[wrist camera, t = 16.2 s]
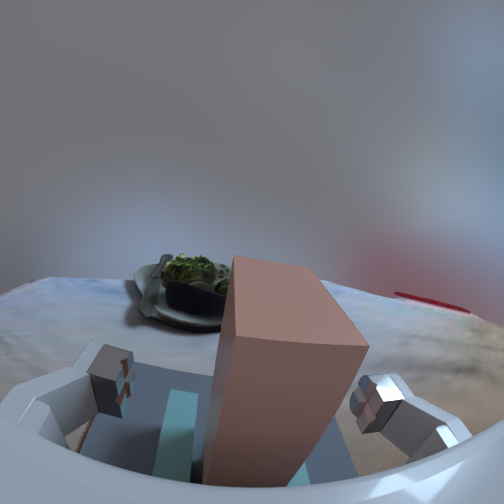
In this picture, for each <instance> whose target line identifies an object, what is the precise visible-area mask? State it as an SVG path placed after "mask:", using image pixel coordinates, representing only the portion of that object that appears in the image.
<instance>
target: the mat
mask: <svg viewBox="0 0 504 504" xmlns="http://www.w3.org/2000/svg"><path fill="white" fill-rule="evenodd" d="M132 368H133V369H134V371H135V383H134V388H133V392H132V395H131V396H130V397H128V398H127V404H128V405H127V408H126V411H125V413H124V416H123V419H122V418H118V417H114V416H110V415H107V414H103V413H100V412H99V414H98V415H96V416H95V418H94V420H93V422H92V424H91V427H90V429H89V431H88V433H87V436H86V438H85V440H84V443H83V445H82V448H81V450H80V452H79V454H81V455H83V456H86V457H89V458H91V459H94V460H97V461H100V462H103V463H106V464H109V465H112V466H115V467H119V468H122V469H125V470H129V471H133V472H137V473H141V474H145V475H149V476H152V474H153V469H154V464H155V459H156V453H157V449H158V444H159V439H160V434H161V429H162V425H163V420H164V416H165V411H166V407H167V402H168V398H169V394H170V390H171V389H173V390H179V391H185V392H190V393H197V394H198V403H197V412H196V422H195V432H194V442H193V452H192V463H191V475H190V483H194V484H200V466H201V455H202V448H203V441H204V434H205V427H206V420H207V414H208V407H209V401H210V394H211V388H212V381H213V376H207V375H200V374H194V373H188V372H182V371H176V370H171V369H166V368H161V367H156V366H151V365H147V364H142V363H138V362H133V365H132ZM305 465H306V469H307V473H308V477H309V481H310V485H312V484H321V483H328V482H334V481H340V480H346V479H351V478H356V477H358V475H357V473H356V470H355V468H354V465H353V462H352V460H351V457H350V455H349V452H348V450H347V447H346V445H345V442H344V439H343V437H342V434H341V432H340V429H339V427H338V424H337V422H336V419H335V417H333V418H332V420H331V422H330V423H329V425H328V427H327V428H326V430H325V431H324V433H323V435H322V436H321V438H320V439H319V441H318V443H317V444H316V446H315V447H314V449H313V450H312V452H311V453H310V455H309V456H308V457H307V459H306V460H305Z"/></svg>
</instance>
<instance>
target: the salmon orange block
mask: <svg viewBox="0 0 504 504" xmlns="http://www.w3.org/2000/svg"><path fill="white" fill-rule="evenodd" d="M369 346H370V345H369V344H368V343H367V341H366V340H365V339H364V337H363V336H362V335H361V333H360V332H359V331H358V329H357V328H356V327H355V325H354V324H353V323H352V321H351V320H350V319H349V317H348V316H347V315H346V314H345V312H344V311H343V310H342V308H341V307H340V306H339V304H338V303H337V302H336V300H335V299H334V298H333V297H332V295H331V294H330V293H329V291H328V290H327V289H326V288H325V286H324V285H323V284H322V283H321V281H320V280H319V279H318V278H317V276H316V275H315V274H314V272H313V271H312V270H311V269H310V268H309V267H303V266H296V265H290V264H284V263H278V262H272V261H266V260H260V259H253V258H247V257H241V256H235V255H234V257H233V263H232V268H231V274H230V279H229V285H228V291H227V297H226V302H225V308H224V314H223V320H222V326H221V332H220V338H219V344H218V350H217V356H216V362H215V369H214V375H213V381H212V388H211V394H210V401H209V407H208V414H207V420H206V427H205V434H204V441H203V448H202V455H201V466H200V484H202V485H212V486H224V487H247V488H267V487H286V486H287V485H288V483H289V482H290V481H291V480H292V478H293V477H294V476H295V474H296V473H297V471H298V470H299V469H300V467H301V466H302V465H303V463H304V462H305V460H306V459H307V457H308V456H309V455H310V453H311V452H312V450H313V449H314V447H315V446H316V444H317V443H318V441H319V439H320V438H321V436H322V435H323V433H324V431H325V430H326V428H327V427H328V425H329V423H330V422H331V420H332V418H333V417H334V415H335V413H336V411H337V410H338V408H339V406H340V404H341V403H342V401H343V399H344V397H345V395H346V393H347V391H348V390H349V388H350V386H351V384H352V382H353V380H354V378H355V376H356V374H357V372H358V370H359V368H360V366H361V364H362V361H363V359H364V357H365V355H366V353H367V351H368V348H369Z"/></svg>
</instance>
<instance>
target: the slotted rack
mask: <svg viewBox="0 0 504 504" xmlns="http://www.w3.org/2000/svg"><path fill="white" fill-rule="evenodd" d="M197 403H198V394H197V393H190V392H185V391H179V390H173V389H171V390H170V394H169V398H168V402H167V407H166V411H165V416H164V420H163V425H162V429H161V434H160V439H159V444H158V449H157V453H156V459H155V464H154V469H153V474H152V476H153V477H158V478H163V479H168V480H174V481H180V482H187V483H190V475H191V463H192V452H193V442H194V432H195V422H196V412H197ZM302 485H310V481H309V477H308V473H307V469H306V465H305V462H304V463H303V465H302V466H301V467H300V469H299V470H298V471H297V473H296V474H295V476H294V477H293V478H292V480H291V481H290V482H289V483H288V485H287V486H286V487H290V486H302Z"/></svg>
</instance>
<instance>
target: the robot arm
mask: <svg viewBox="0 0 504 504" xmlns="http://www.w3.org/2000/svg"><path fill="white" fill-rule="evenodd" d="M133 362H134V356H133V353H132V352H131V351H128V350H124V349H120V348H117V347H113V346H110V345H107V344H103V343H99V342H96V341H90V342H89V343H88V345H87V346H86V347H85V349H84V350H83V352H82V353H81V354H80V356H79V357H78V359H77V360H76V361H75V363H74V364H73V366H72V367H68V366H67V367H65V368H62V369H59V370H57V371H54V372H51V373H49V374H46V375H43V376H41V377H38V378H35V379H33V380H30V381H27V382H24V383H22V384H19V385H16V386H14V387H13V388H12V389H11V391H10V392H9V393H8V394H7V396H6V397H5V398H4V400H3V401H2V402H1V404H0V504H504V419H503V420H501V421H499V422H498V423H496V424H494V425H493V426H491V427H489V428H487V429H486V430H484V431H482V432H480V433H478V434H477V435H475V436H472V435H471V433H470V432H469V431H468V429H467V428H466V427H465V425H464V424H463V423H462V421H461V420H460V419H459V418H457V417H455V416H453V415H451V414H450V413H448V412H446V411H444V410H442V409H440V408H438V407H436V406H434V405H432V404H431V403H429V402H427V401H425V400H423V399H421V398H419V397H415V396H414V395H413V393H412V392H411V391H410V389H409V388H408V387H407V385H406V384H405V383H404V381H403V380H402V379H401V377H400V376H399V375H398V374H397V373H385V374H373V375H363V376H362V377H361V378H360V380H359V382H358V385H359V387H358V388H357V389H356V390H354V391H353V393H352V395H351V397H350V410H351V412H352V414H354V415H355V416H356V417H358V418H357V421H356V423H357V425H358V427H359V429H360V431H361V433H362V434H366V433H373V432H380V433H381V434H382V435H383V436H385V437H386V438H387V439H388V440H389V441H391V442H392V443H393V444H394V445H395V446H397V447H398V448H399V449H400V450H402V451H403V452H404V453H405V454H407V455H408V456H409V457H410V458H409V460H408V461H407V462H406V463H405V464H404V465H402V466H399V467H396V468H393V469H389V470H385V471H382V472H378V473H374V474H370V475H366V476H361V477H356V478H351V479H346V480H340V481H334V482H328V483H321V484H312V485H302V486H290V487H267V488H247V487H224V486H212V485H202V484H194V483H187V482H180V481H174V480H168V479H163V478H158V477H153V476H149V475H145V474H141V473H137V472H133V471H129V470H125V469H122V468H119V467H115V466H112V465H109V464H106V463H103V462H100V461H97V460H94V459H91V458H89V457H86V456H83V455H81V454H78V453H76V452H73V451H71V449H70V447H69V446H68V444H67V442H66V440H65V438H64V437H65V436H67V435H68V434H70V433H71V432H73V431H74V430H76V429H77V428H79V427H80V426H82V425H83V424H85V423H86V422H88V421H89V420H90V419H92V418H93V417H95V416H96V415H98V414H99V412H100V413H103V414H107V415H110V416H114V417H118V418H122V419H123V416H124V413H125V411H126V408H127V405H128V404H127V398H128V397H130V396H131V395H132V392H133V388H134V383H135V371H134V369H133V368H132V365H133Z"/></svg>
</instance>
